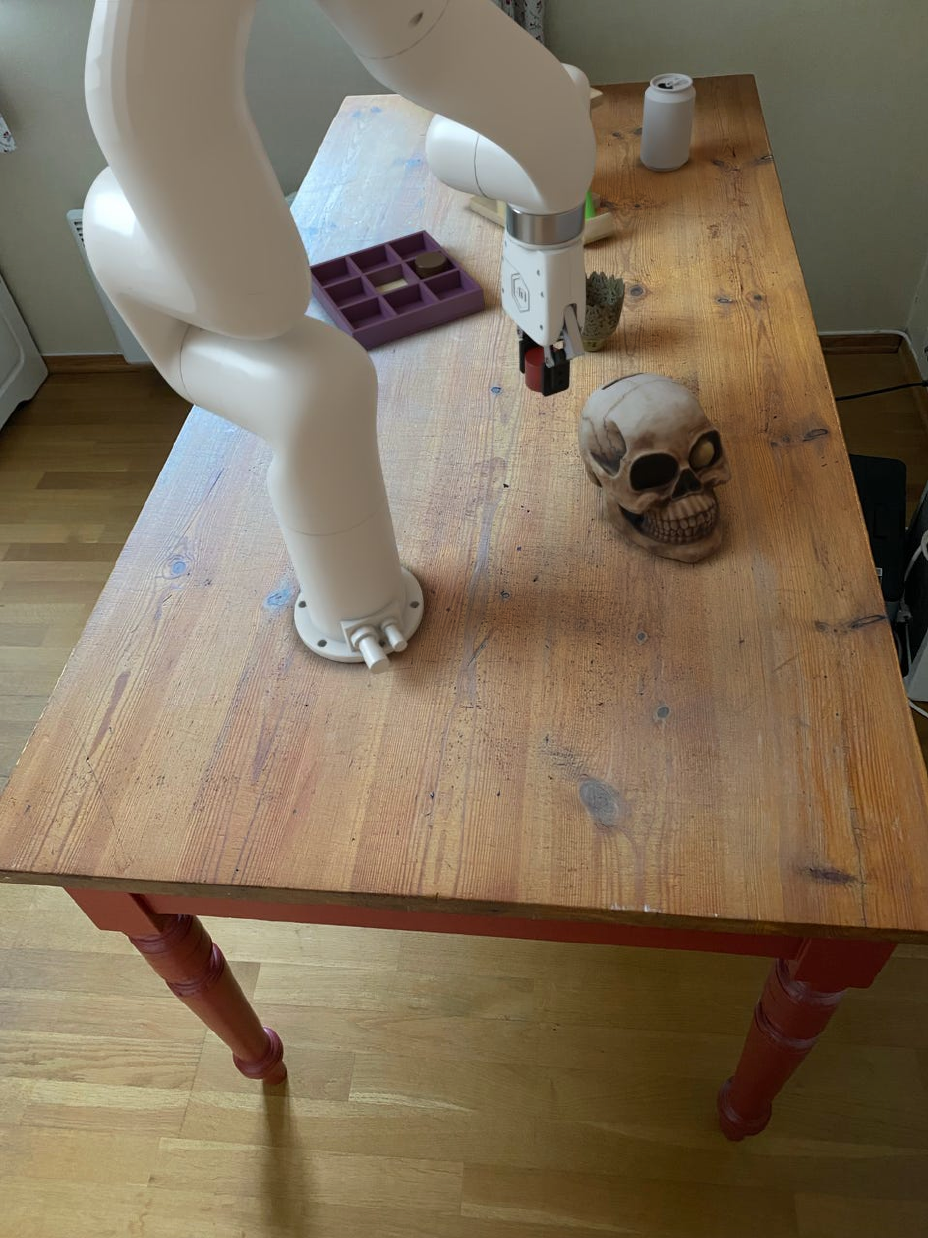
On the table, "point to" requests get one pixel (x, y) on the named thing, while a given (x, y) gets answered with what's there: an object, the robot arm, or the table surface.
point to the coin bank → (655, 464)
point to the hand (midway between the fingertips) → (544, 378)
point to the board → (392, 291)
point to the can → (667, 122)
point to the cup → (601, 309)
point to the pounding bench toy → (593, 223)
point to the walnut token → (430, 264)
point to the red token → (534, 367)
